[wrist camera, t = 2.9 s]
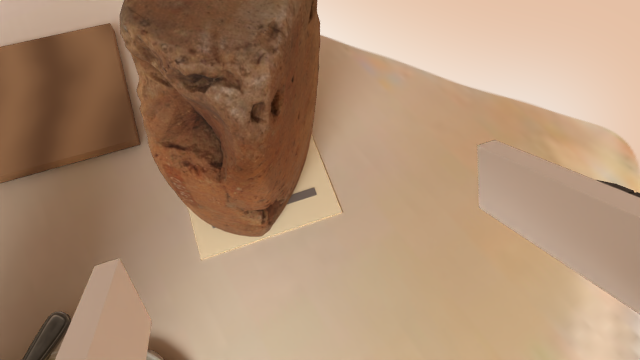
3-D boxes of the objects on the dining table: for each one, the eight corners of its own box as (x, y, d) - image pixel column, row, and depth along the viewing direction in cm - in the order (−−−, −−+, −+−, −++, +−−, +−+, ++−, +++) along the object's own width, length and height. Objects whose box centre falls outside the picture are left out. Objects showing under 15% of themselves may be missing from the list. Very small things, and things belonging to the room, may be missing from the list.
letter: (201, 260, 31) (200, 259, 31) (158, 95, 36) (158, 94, 36) (342, 212, 33) (342, 212, 33) (283, 64, 38) (282, 62, 38)
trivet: (-24, 189, 32) (-33, 185, 31) (-33, 63, 36) (-41, 55, 35) (140, 144, 34) (136, 139, 33) (114, 30, 38) (109, 23, 37)
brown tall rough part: (239, 115, 36) (182, -121, 17) (317, 140, 35) (345, -73, 17) (188, 225, 32) (42, 73, 13) (275, 255, 31) (251, 141, 13)
